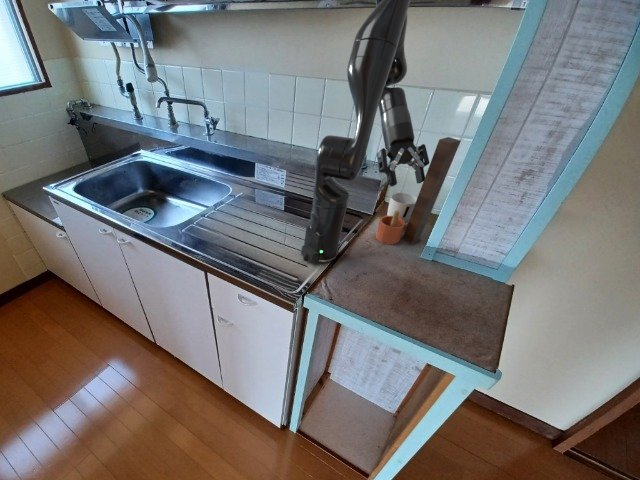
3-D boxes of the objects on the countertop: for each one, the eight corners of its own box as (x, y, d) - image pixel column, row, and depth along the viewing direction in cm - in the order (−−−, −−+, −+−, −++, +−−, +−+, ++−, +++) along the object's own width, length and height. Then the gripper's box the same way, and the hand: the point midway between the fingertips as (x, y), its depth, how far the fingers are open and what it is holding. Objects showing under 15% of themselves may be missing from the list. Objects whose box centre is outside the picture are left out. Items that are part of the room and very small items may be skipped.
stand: (411, 244, 102) (451, 143, 81) (402, 238, 104) (439, 139, 83) (419, 240, 103) (461, 140, 82) (409, 235, 105) (448, 136, 85)
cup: (397, 234, 106) (407, 206, 99) (377, 224, 111) (385, 196, 104) (412, 227, 109) (423, 199, 102) (392, 217, 114) (401, 190, 107)
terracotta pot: (387, 247, 101) (393, 230, 97) (370, 236, 106) (375, 219, 101) (404, 240, 103) (410, 223, 99) (386, 229, 108) (391, 213, 104)
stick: (388, 240, 102) (397, 215, 96) (381, 236, 104) (389, 211, 98) (395, 238, 103) (404, 212, 97) (388, 234, 105) (396, 208, 99)
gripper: (381, 122, 87) (392, 181, 86) (428, 118, 89) (439, 175, 89) (366, 137, 94) (377, 192, 94) (410, 133, 96) (420, 186, 96)
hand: (407, 183), depth 91 cm, fingers open, 8 cm apart
